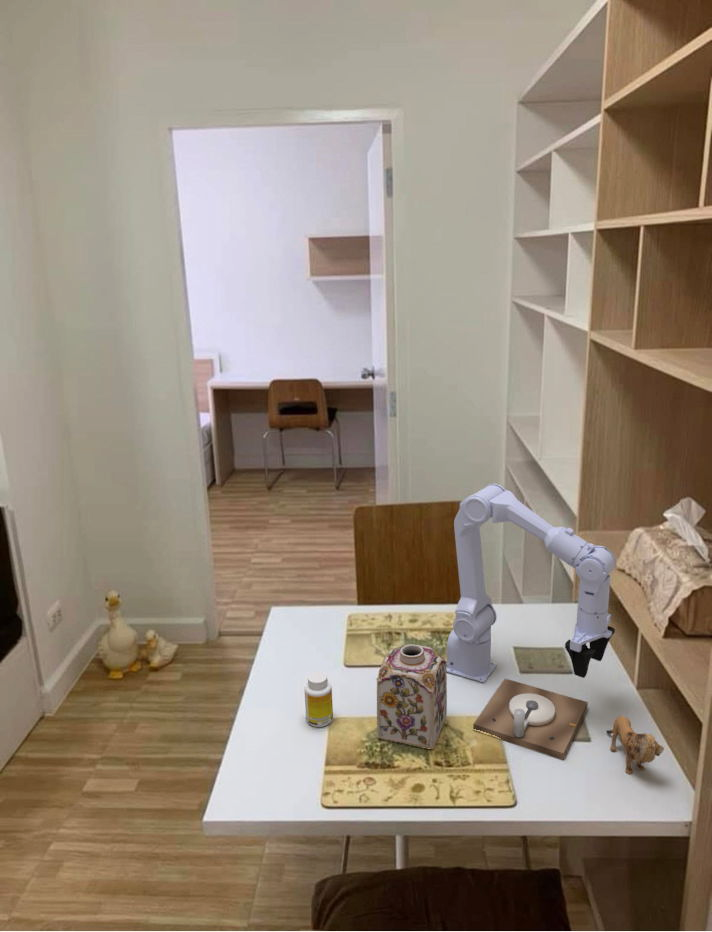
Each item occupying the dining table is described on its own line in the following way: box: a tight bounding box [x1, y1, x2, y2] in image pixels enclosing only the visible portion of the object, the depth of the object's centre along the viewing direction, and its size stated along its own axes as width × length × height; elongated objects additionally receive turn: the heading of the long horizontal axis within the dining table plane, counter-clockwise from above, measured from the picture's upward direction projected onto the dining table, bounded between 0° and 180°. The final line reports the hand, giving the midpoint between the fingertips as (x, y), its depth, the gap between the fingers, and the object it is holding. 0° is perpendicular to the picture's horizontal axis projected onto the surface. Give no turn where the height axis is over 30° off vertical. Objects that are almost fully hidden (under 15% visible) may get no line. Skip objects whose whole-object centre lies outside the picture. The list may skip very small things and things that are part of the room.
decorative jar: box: [376, 643, 448, 750], centre depth 143 cm, size 12×12×18 cm
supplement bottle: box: [304, 671, 334, 728], centre depth 148 cm, size 6×6×10 cm
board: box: [472, 678, 589, 761], centre depth 147 cm, size 18×18×2 cm
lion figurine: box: [605, 715, 665, 775], centre depth 134 cm, size 15×5×9 cm, turn 13°
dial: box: [509, 693, 555, 737], centre depth 144 cm, size 14×9×5 cm, turn 149°
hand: (588, 667), depth 147 cm, fingers open, 7 cm apart
